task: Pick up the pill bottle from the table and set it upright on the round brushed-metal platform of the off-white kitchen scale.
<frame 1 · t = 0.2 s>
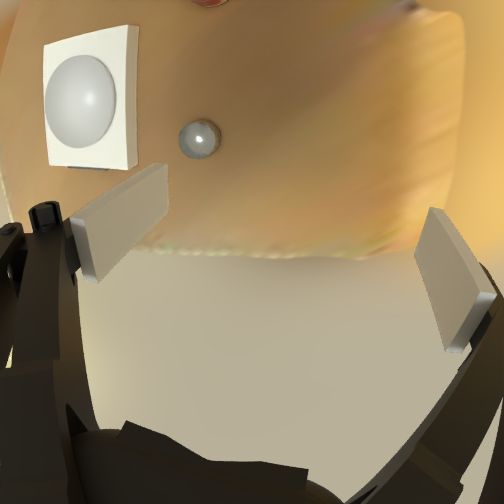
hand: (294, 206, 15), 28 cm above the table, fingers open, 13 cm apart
scale: (91, 98, 41), on the table
shiny grey dome: (204, 136, 42), on the table
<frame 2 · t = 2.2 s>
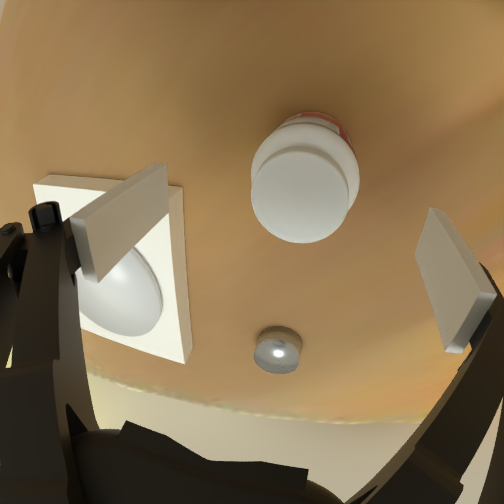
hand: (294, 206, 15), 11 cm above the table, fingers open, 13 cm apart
scale: (119, 266, 35), on the table
shiny grey dome: (280, 340, 36), on the table
pill bottle: (312, 147, 24), on the table
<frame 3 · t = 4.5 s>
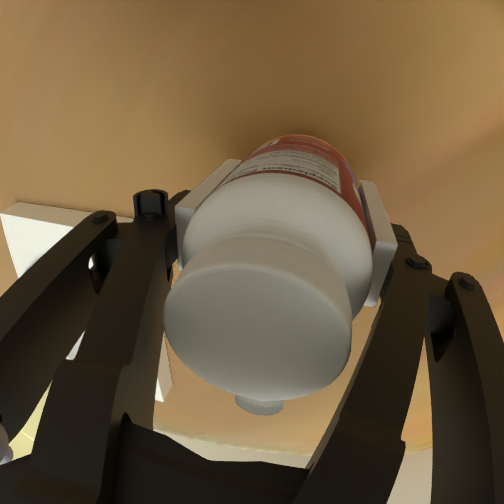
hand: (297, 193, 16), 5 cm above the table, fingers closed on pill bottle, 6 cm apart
scale: (91, 300, 32), on the table
shiny grey dome: (264, 381, 32), on the table
pill bottle: (298, 187, 17), point 4 cm above the table, touching gripper
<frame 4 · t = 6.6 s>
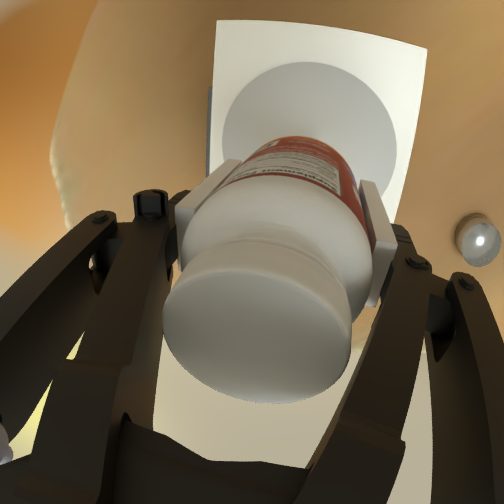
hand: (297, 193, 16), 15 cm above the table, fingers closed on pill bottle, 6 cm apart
scale: (311, 140, 29), on the table
shiny grey dome: (473, 233, 29), on the table
pill bottle: (298, 188, 17), point 14 cm above the table, touching gripper
when the fingers open (5 cm above the table, at t = 8.6 s): pill bottle stays where it is, resting on scale.
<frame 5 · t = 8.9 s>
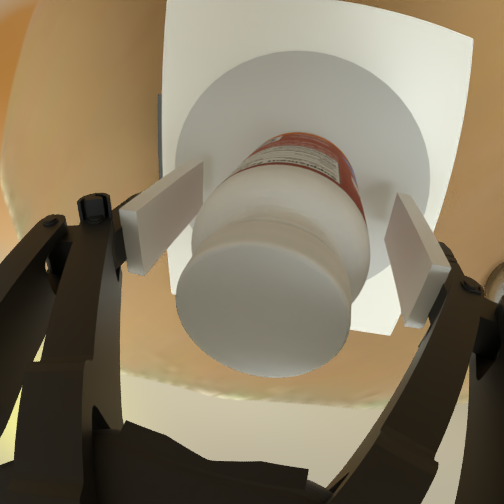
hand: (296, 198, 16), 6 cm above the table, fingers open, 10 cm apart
scale: (304, 166, 21), on the table
pill bottle: (300, 182, 17), point 4 cm above the table, touching scale
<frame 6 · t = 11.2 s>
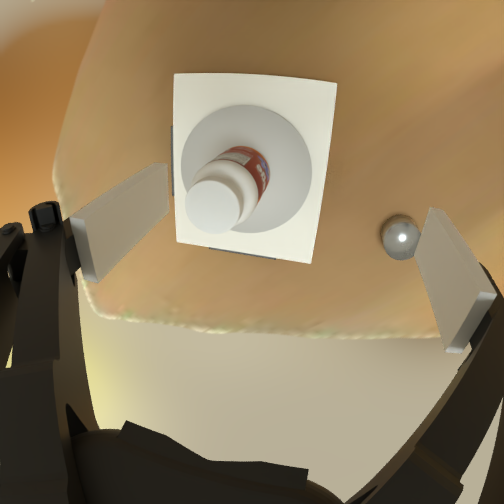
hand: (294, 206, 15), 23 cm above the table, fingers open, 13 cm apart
scale: (251, 163, 38), on the table
shiny grey dome: (398, 231, 38), on the table
pill bottle: (243, 170, 34), point 4 cm above the table, touching scale
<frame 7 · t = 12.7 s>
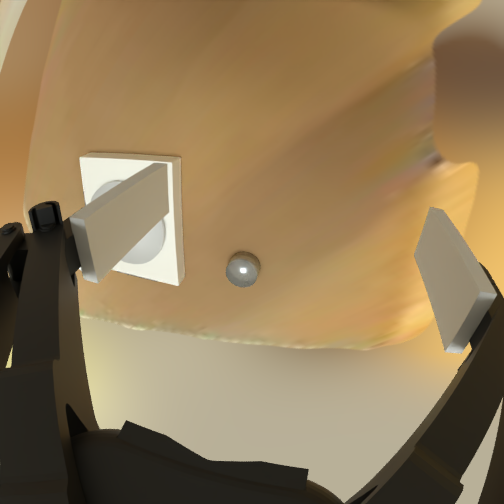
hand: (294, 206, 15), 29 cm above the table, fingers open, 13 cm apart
scale: (136, 214, 53), on the table
shiny grey dome: (245, 264, 53), on the table
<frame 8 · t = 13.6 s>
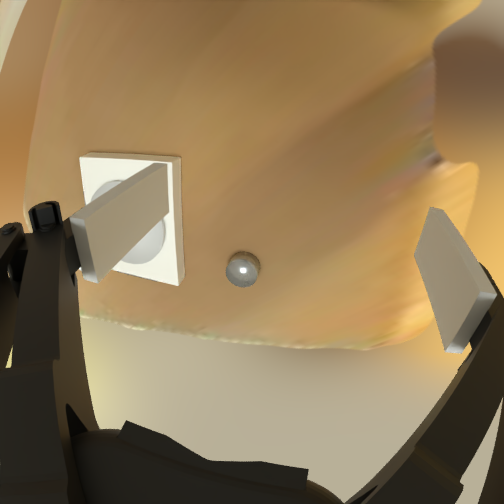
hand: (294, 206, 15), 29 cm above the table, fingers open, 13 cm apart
scale: (136, 214, 53), on the table
shiny grey dome: (245, 264, 53), on the table
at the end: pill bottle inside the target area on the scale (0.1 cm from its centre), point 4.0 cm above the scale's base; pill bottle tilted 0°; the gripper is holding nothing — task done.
